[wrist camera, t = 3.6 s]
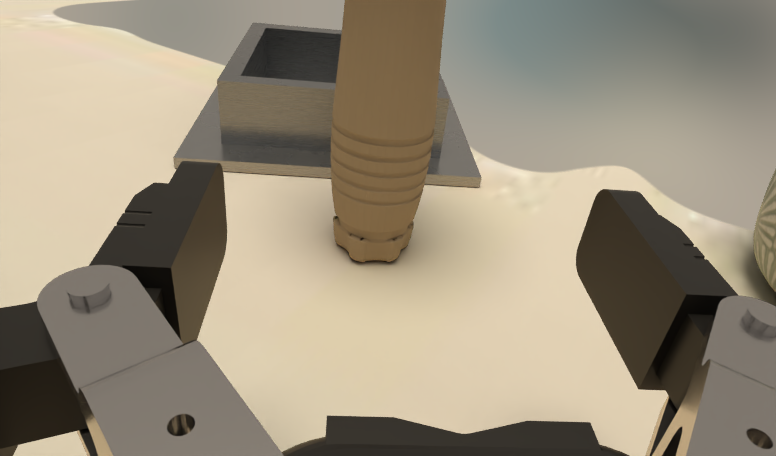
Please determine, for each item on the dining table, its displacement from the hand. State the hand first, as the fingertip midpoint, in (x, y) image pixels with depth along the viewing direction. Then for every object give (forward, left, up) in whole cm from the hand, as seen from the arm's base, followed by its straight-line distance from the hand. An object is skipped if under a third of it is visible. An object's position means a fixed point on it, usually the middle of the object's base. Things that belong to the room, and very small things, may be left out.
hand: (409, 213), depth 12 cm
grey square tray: (-2, +24, -8) cm, 25 cm away
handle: (0, +10, -8) cm, 13 cm away
